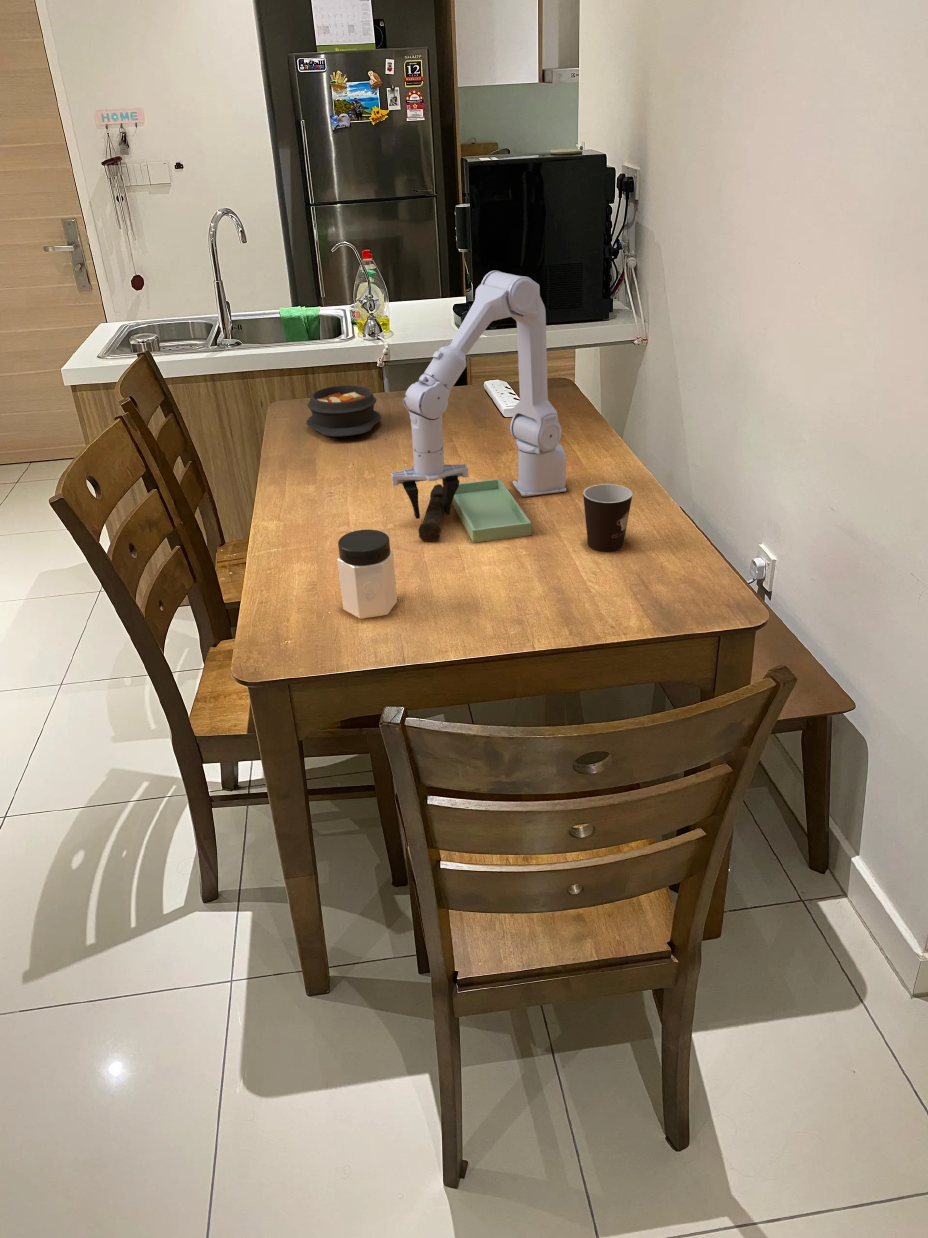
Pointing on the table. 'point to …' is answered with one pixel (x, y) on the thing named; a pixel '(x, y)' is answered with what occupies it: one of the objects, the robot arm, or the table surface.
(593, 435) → the table surface
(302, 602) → the table surface
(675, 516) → the table surface
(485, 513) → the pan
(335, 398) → the casserole
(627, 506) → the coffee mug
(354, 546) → the jar
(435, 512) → the hand tool
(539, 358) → the robot arm
